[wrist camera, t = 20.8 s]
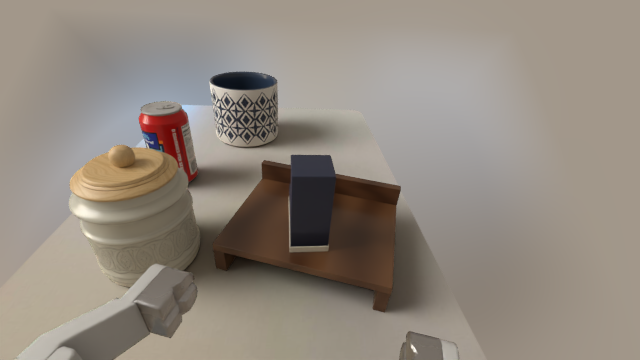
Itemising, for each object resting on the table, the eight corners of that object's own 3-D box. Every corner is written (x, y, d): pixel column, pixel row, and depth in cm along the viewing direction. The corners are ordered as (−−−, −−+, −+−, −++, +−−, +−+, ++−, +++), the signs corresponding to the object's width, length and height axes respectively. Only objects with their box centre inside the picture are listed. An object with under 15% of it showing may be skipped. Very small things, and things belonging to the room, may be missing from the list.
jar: (219, 250, 45) (201, 147, 35) (129, 309, 36) (72, 193, 26) (173, 212, 51) (147, 116, 41) (87, 254, 42) (29, 145, 33)
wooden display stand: (390, 223, 53) (400, 186, 48) (384, 312, 38) (398, 271, 34) (265, 196, 57) (264, 159, 52) (216, 268, 42) (208, 226, 37)
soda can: (203, 182, 59) (190, 111, 51) (160, 193, 55) (138, 118, 47) (193, 164, 64) (180, 97, 56) (153, 173, 60) (133, 102, 52)
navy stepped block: (319, 200, 49) (325, 134, 42) (328, 251, 39) (337, 177, 33) (288, 200, 48) (289, 133, 41) (289, 252, 39) (291, 177, 32)
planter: (280, 124, 86) (280, 73, 78) (274, 150, 73) (273, 92, 65) (225, 121, 85) (219, 69, 77) (209, 146, 72) (200, 87, 64)
